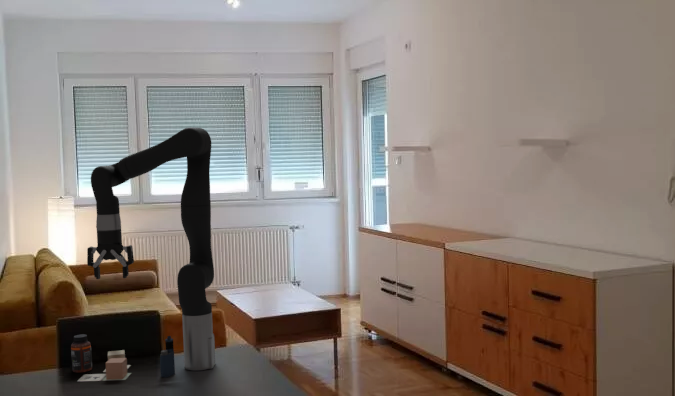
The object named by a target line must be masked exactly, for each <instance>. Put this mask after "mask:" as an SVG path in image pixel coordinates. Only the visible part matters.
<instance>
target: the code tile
mask: <svg viewBox="0 0 675 396" xmlns="http://www.w3.org/2000/svg"><path fill="white" fill-rule="evenodd" d="M105 377H106V373H92V374H91V373H90V374H88V373H87V374H83V375H82V376H81V377H80V378H78V380H77V382H98V381H99V382H101V381H102V380H103V379H104V378H105Z"/></svg>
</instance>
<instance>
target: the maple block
mask: <svg viewBox="0 0 675 396" xmlns="http://www.w3.org/2000/svg"><path fill="white" fill-rule="evenodd" d="M125 353H126V352H125V349H122V350H111V351H110V350H109V351H107V361H108V360H109V359H110V358H126V354H125Z"/></svg>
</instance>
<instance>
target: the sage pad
mask: <svg viewBox="0 0 675 396" xmlns="http://www.w3.org/2000/svg"><path fill="white" fill-rule="evenodd" d="M131 374H132V372H127V375H126V376H125V377H124V378H123V379H106V376H105V377H104V378H103V379H102V380H101V381H103V382H104V381H126V380H127V379H128V378H129V376H130V375H131Z"/></svg>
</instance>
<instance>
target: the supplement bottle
mask: <svg viewBox="0 0 675 396" xmlns="http://www.w3.org/2000/svg"><path fill="white" fill-rule="evenodd" d="M91 345H92V344H91V342H90V341H88V335H87V334H84V333H82V334H77V335H74V336H73V342H72V343H71V345H70V351H71V352H70V353H71V354H70V355H71V366H72V372H73V373H86V372H89V371H92V369H93V357H92V346H91Z"/></svg>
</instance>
